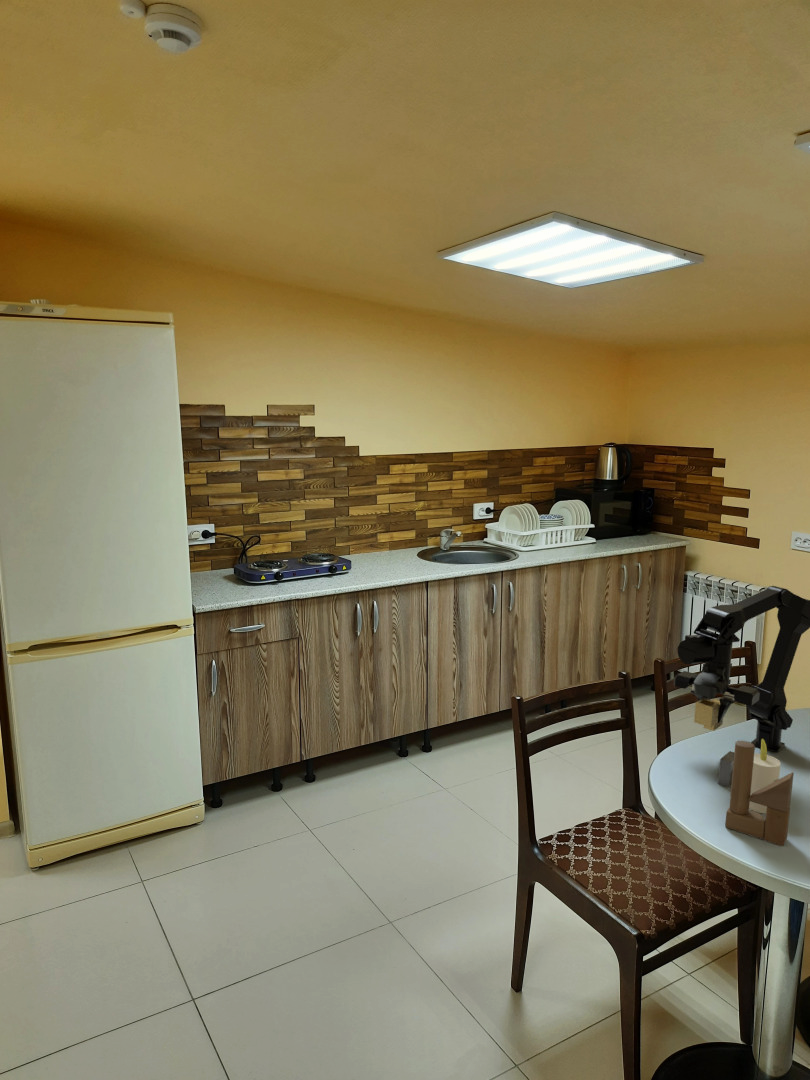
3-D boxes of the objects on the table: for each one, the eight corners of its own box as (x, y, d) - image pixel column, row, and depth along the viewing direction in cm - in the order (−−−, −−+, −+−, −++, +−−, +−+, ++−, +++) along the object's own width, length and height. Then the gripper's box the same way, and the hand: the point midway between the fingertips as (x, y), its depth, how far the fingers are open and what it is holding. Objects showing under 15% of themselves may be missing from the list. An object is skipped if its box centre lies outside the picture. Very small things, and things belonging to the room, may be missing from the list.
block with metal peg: (731, 767, 172) (733, 738, 171) (748, 773, 169) (751, 743, 168) (714, 782, 164) (717, 751, 163) (732, 788, 162) (735, 757, 161)
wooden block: (783, 847, 139) (792, 760, 136) (724, 827, 146) (732, 744, 143) (787, 839, 142) (796, 753, 139) (729, 820, 148) (737, 738, 146)
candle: (765, 816, 150) (772, 749, 148) (737, 802, 156) (743, 737, 153) (783, 809, 153) (789, 743, 151) (754, 795, 159) (761, 731, 157)
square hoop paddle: (709, 720, 180) (711, 692, 179) (725, 725, 178) (728, 696, 177) (693, 732, 173) (695, 702, 172) (710, 737, 171) (712, 707, 169)
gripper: (666, 658, 175) (661, 719, 177) (746, 677, 162) (740, 742, 164) (685, 648, 183) (680, 707, 185) (763, 666, 170) (757, 728, 172)
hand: (712, 720), depth 176 cm, fingers closed on square hoop paddle, 3 cm apart
